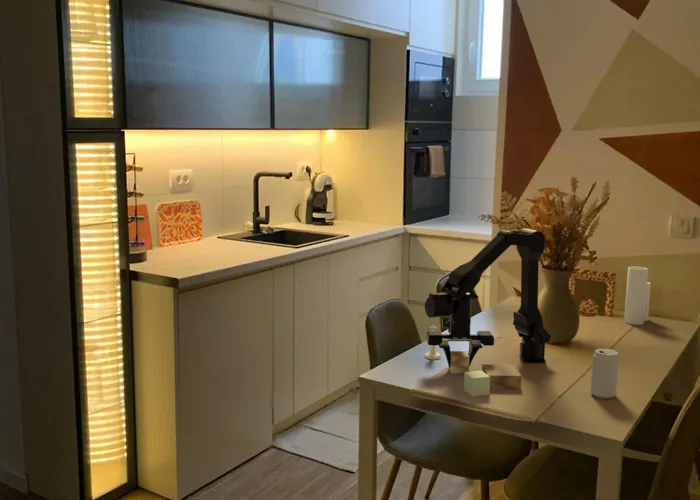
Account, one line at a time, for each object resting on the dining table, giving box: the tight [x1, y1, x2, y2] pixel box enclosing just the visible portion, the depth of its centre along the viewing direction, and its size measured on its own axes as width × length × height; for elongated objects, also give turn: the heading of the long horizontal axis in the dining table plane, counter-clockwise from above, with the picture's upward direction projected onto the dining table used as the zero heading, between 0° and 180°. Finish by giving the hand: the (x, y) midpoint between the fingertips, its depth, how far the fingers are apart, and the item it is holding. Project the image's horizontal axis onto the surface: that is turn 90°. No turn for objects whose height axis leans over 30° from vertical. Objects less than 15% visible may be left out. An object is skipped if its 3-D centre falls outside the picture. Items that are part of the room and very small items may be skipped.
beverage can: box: [590, 348, 620, 400], centre depth 188 cm, size 6×6×12 cm
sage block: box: [463, 369, 490, 397], centre depth 190 cm, size 5×5×5 cm
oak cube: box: [448, 350, 470, 374], centre depth 207 cm, size 5×5×5 cm
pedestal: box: [481, 364, 522, 390], centre depth 197 cm, size 9×9×4 cm
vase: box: [623, 265, 652, 326], centre depth 259 cm, size 11×7×20 cm, turn 144°
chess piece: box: [424, 324, 442, 360], centre depth 218 cm, size 5×5×10 cm
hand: (458, 366), depth 207 cm, fingers closed on oak cube, 5 cm apart
